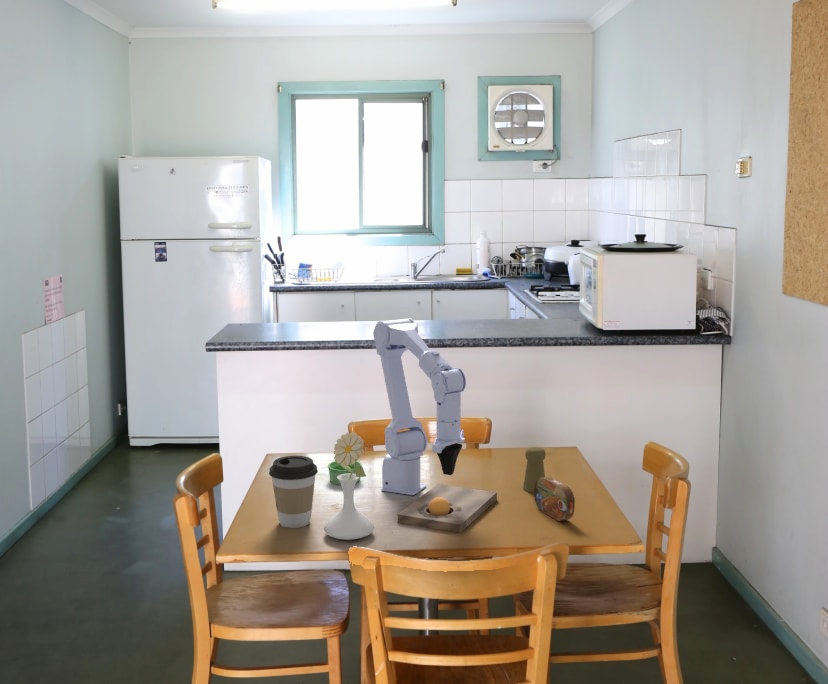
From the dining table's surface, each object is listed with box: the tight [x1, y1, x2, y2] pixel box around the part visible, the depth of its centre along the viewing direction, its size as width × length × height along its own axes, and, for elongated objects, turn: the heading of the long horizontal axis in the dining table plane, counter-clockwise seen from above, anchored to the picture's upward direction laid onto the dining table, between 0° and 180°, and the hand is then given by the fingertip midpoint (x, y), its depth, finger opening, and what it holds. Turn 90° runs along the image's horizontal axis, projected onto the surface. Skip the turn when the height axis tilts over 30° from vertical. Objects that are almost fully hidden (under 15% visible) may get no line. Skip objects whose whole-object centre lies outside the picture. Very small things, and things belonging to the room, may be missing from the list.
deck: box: [397, 483, 498, 534], centre depth 241 cm, size 16×24×2 cm, turn 155°
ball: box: [429, 497, 450, 515], centre depth 236 cm, size 5×5×5 cm
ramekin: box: [327, 460, 363, 486], centre depth 264 cm, size 9×9×4 cm
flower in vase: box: [323, 431, 375, 541], centre depth 223 cm, size 13×11×25 cm
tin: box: [533, 476, 576, 522], centre depth 238 cm, size 15×3×8 cm, turn 23°
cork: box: [522, 446, 546, 494], centre depth 256 cm, size 6×6×11 cm
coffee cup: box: [268, 455, 319, 529], centre depth 233 cm, size 11×11×15 cm
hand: (448, 473), depth 239 cm, fingers closed
